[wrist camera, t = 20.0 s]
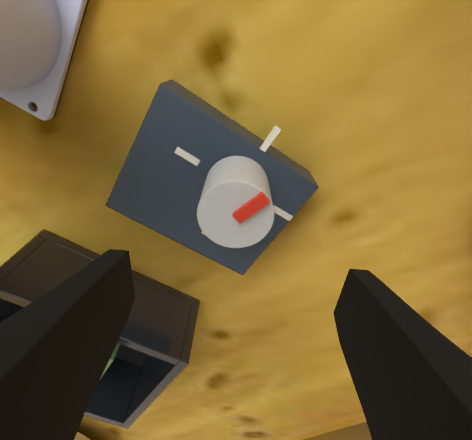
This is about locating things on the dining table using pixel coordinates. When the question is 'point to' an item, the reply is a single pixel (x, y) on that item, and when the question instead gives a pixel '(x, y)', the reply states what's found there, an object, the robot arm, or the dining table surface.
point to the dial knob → (236, 203)
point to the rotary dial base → (199, 173)
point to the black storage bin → (133, 336)
